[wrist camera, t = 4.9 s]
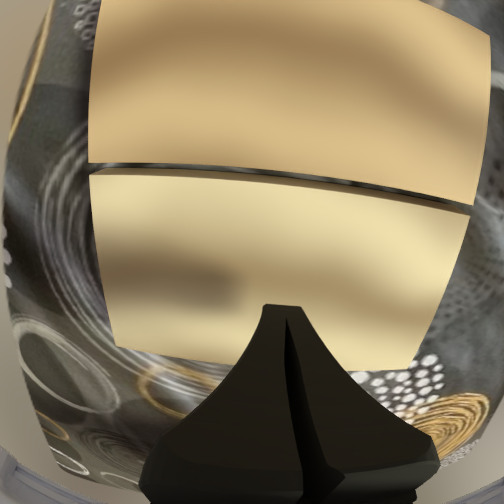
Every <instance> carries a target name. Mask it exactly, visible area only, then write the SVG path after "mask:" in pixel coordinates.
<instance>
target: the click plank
mask: <svg viewBox="0 0 504 504" xmlns="http://www.w3.org/2000/svg"><path fill="white" fill-rule="evenodd" d="M89 180H90V195H91V207H92V217H93V227H94V235H95V243H96V250H97V256H98V263H99V269H100V275H101V280H102V286H103V291H104V296H105V301H106V306H107V310H108V315H109V319H110V323H111V328H112V332H113V336H114V340H115V343H116V346H119V347H123V348H128V349H133V350H138V351H143V352H149V353H154V354H160V355H166V356H172V357H178V358H184V359H191V360H198V361H206V362H214V363H222V364H231V365H235V364H236V363H237V361H238V360H239V358H240V357H241V355H242V354H243V352H244V350H245V349H246V347H247V345H248V344H249V342H250V340H251V338H252V336H253V334H254V332H255V330H256V328H257V326H258V323H259V320H260V318H261V314H262V307H263V305H265V304H278V305H290V306H301V307H302V309H303V310H304V312H305V314H306V315H307V317H308V319H309V321H310V322H311V324H312V326H313V327H314V329H315V330H316V332H317V334H318V335H319V337H320V338H321V340H322V341H323V342H324V344H325V345H326V347H327V348H328V350H329V351H330V352H331V354H332V355H333V356H334V358H335V359H336V360H337V361H338V363H339V364H340V365H341V366H342V367H343V369H344V370H345V371H367V370H396V369H407V368H408V367H409V365H410V363H411V361H412V359H413V357H414V356H415V354H416V352H417V350H418V348H419V346H420V344H421V342H422V340H423V338H424V336H425V334H426V332H427V330H428V328H429V326H430V324H431V321H432V319H433V317H434V315H435V313H436V310H437V308H438V306H439V303H440V301H441V299H442V296H443V294H444V291H445V289H446V286H447V284H448V281H449V279H450V276H451V273H452V271H453V268H454V265H455V262H456V260H457V257H458V254H459V251H460V248H461V245H462V241H463V238H464V235H465V232H466V228H467V225H468V221H469V218H470V216H469V215H468V214H466V213H464V212H463V211H461V210H460V209H458V208H456V207H455V206H453V205H449V204H444V203H440V202H435V201H431V200H426V199H421V198H416V197H411V196H406V195H401V194H395V193H390V192H384V191H379V190H373V189H367V188H361V187H354V186H348V185H341V184H334V183H327V182H320V181H312V180H304V179H296V178H287V177H278V176H268V175H257V174H246V173H234V172H220V171H205V170H186V169H160V168H105V169H102V170H100V171H98V172H95V173H93V174H90V175H89Z"/></svg>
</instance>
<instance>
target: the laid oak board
mask: <svg viewBox="0 0 504 504" xmlns="http://www.w3.org/2000/svg"><path fill="white" fill-rule="evenodd" d="M490 77H491V56H490V36H489V35H487V34H485V33H484V32H482V31H480V30H478V29H477V28H475V27H473V26H471V25H469V24H468V23H466V22H464V21H462V20H460V19H458V18H456V17H454V16H452V15H450V14H448V13H446V12H444V11H441V10H439V9H437V8H435V7H433V6H430V5H428V4H425V3H423V2H421V1H418V0H102V2H101V7H100V12H99V17H98V23H97V29H96V35H95V42H94V50H93V59H92V68H91V80H90V94H89V118H88V156H89V163H109V162H143V163H181V164H202V165H219V166H233V167H246V168H257V169H267V170H277V171H286V172H295V173H303V174H311V175H319V176H326V177H333V178H340V179H347V180H353V181H359V182H365V183H371V184H377V185H382V186H388V187H393V188H398V189H404V190H409V191H413V192H418V193H423V194H428V195H432V196H437V197H441V198H445V199H450V200H454V201H458V202H462V203H466V204H470V205H473V202H474V198H475V194H476V190H477V185H478V180H479V175H480V170H481V165H482V159H483V153H484V147H485V140H486V132H487V123H488V113H489V100H490Z"/></svg>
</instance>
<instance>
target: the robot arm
mask: <svg viewBox="0 0 504 504" xmlns="http://www.w3.org/2000/svg"><path fill="white" fill-rule="evenodd" d="M440 466H441V465H440V461H439V457H438V454H437V451H436V447H435V445H434V442H433V440H432V438H431V436H429V435H427V434H426V433H424V432H422V431H420V430H419V429H417V428H415V427H413V426H412V425H410V424H408V423H406V422H405V421H403V420H402V419H400V418H399V417H397V416H396V415H395V414H393V413H392V412H390V411H389V410H388V409H386V408H385V407H384V406H382V405H381V404H380V403H379V402H377V401H376V400H375V399H374V398H373V397H372V396H370V395H369V394H368V393H367V392H366V391H365V390H364V389H362V388H361V387H360V386H359V385H358V384H357V383H356V382H355V381H354V380H353V379H352V378H351V376H350V375H349V374H348V373H347V372H346V371H345V370H344V369H343V367H342V366H341V365H340V364H339V363H338V361H337V360H336V359H335V358H334V356H333V355H332V354H331V352H330V351H329V350H328V348H327V347H326V345H325V344H324V342H323V341H322V340H321V338H320V337H319V335H318V334H317V332H316V330H315V329H314V327H313V326H312V324H311V322H310V321H309V319H308V317H307V315H306V314H305V312H304V310H303V309H302V307H301V306H290V305H278V304H265V305H263V307H262V314H261V318H260V320H259V323H258V326H257V328H256V330H255V332H254V334H253V336H252V338H251V340H250V342H249V344H248V345H247V347H246V349H245V350H244V352H243V354H242V355H241V357H240V358H239V360H238V361H237V363H236V364H235V366H234V367H233V368H232V370H231V371H230V372H229V374H228V375H227V376H226V377H225V379H224V380H223V381H222V382H221V383H220V384H219V385H218V387H217V388H216V389H215V390H214V391H213V392H212V393H211V394H210V395H209V396H208V397H207V398H206V399H205V400H204V401H203V402H202V403H201V404H200V405H199V406H197V407H196V408H195V409H194V410H193V411H192V412H191V413H190V414H189V415H187V416H186V417H185V418H184V419H182V420H181V421H180V422H178V423H177V424H176V425H174V426H173V427H171V428H170V429H169V430H167V431H166V432H165V433H163V434H162V435H161V436H160V437H159V439H158V440H157V442H156V443H155V445H154V446H153V448H152V450H151V451H150V453H149V455H148V457H147V459H146V461H145V464H144V466H143V470H142V473H141V477H140V480H139V484H138V485H139V488H140V490H141V491H142V492H143V494H144V495H145V496H146V497H147V498H148V500H149V501H150V502H151V503H150V504H413V502H414V501H416V499H417V495H416V491H415V489H417V488H418V487H419V486H421V485H422V484H423V483H424V482H426V481H427V480H428V479H430V478H431V477H432V476H433V475H434V474H435V473H436V472H437V471H438V469H439V467H440ZM0 504H107V503H104V502H101V501H98V500H96V499H93V498H90V497H88V496H85V495H83V494H81V493H78V492H76V491H73V490H71V489H69V488H67V487H65V486H63V485H60V484H58V483H56V482H54V481H52V480H50V479H48V478H46V477H44V476H42V475H40V474H39V473H37V472H35V471H33V470H31V469H29V468H28V467H26V466H24V465H22V464H21V463H19V462H18V461H17V460H16V459H15V458H14V457H13V456H12V455H11V454H10V453H9V452H8V451H7V450H5V449H4V448H3V447H1V446H0ZM444 504H504V477H502V478H501V479H499V480H497V481H495V482H493V483H491V484H489V485H487V486H485V487H482V488H480V489H478V490H476V491H474V492H471V493H469V494H467V495H464V496H462V497H460V498H457V499H455V500H452V501H449V502H446V503H444Z"/></svg>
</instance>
